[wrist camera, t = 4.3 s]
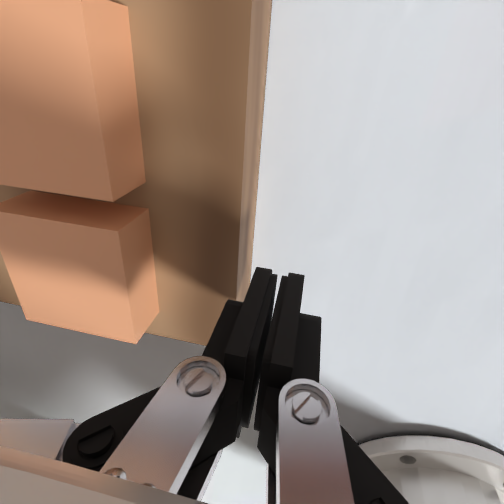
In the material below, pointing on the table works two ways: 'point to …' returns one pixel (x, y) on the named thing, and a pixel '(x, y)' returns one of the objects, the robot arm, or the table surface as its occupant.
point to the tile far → (81, 263)
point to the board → (195, 153)
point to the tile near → (69, 99)
